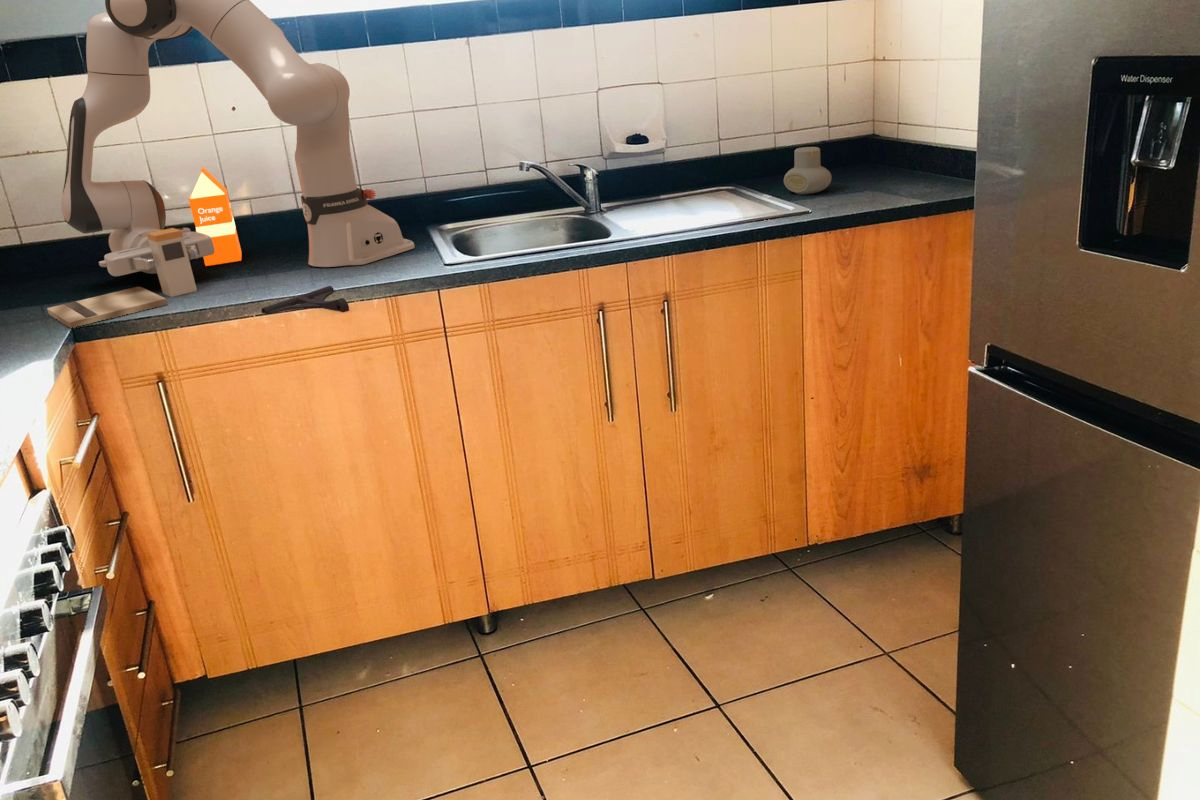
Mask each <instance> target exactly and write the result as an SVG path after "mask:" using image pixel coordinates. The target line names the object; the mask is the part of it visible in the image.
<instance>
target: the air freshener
mask: <svg viewBox="0 0 1200 800" xmlns="http://www.w3.org/2000/svg"><path fill="white" fill-rule="evenodd" d="M793 151H794V155H793V156H794V157H793V158H794V166H793V168H790V169H789V170H788V171H787V172H786V173H785V175H784V178H783V185H784V186H785V187H786V189H787V190H788V191H790V192H792V193H794V194H796V195H803V196H804V195H811V194H817V193H820V192H822V191H824V190H826V188H828V187H829V185H830V184H831V182H832V179H833V177H832V173H831V172H830V170H828V169H827V168H826V167H824V166H822V165H821V148H819V147H818V146H805V147H803V146H802V147H798V148H796V149H795V150H793Z"/></svg>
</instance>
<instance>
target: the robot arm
mask: <svg viewBox="0 0 1200 800" xmlns="http://www.w3.org/2000/svg"><path fill="white" fill-rule="evenodd" d="M104 3H105V5H104V6H105V10H106V11H105V12H104V11H103V12H100V13H97V14H96V15H93V16H92V17H91V18H90V19H89V21H88V23H87V29H86V42H85V43H86V44H85V53H86V56H85V58H86V68H87V82H86V86H85V89H84V92H83V94H82V95H81V97H79V98H77V99H75V100H74V102H73V103H72V108H71V110H70V117H69V124H68V135H67V136H68V137H67V150H66V161H65V162H66V163H65V164H66V165H65V175H64V177H65V178H64V184H63V189H62V196H61V213H62V216H63V219H64V222H66V223H67V224H68V226H70V227H71V228H73V229H74V230H76V231H77V232H80V233H82V234H92V233H99V232H103V231H110V230H111V233H110V234H109V236H108V246H109V248H110V251H111V252H109V253H106V254H104V256H103V257H104V258H103V259H104V260H100V261H98V265H99V266H100V267H101V268H107V269H106V270H107V272H108V273H109V275H111V276H113V277H122V276H125V275H129V274H130V275H131V274H133V273H137V272H143V273H145V274H151V275H154V274H157V270H156V266H155V263H154V259H153V255H152V252H151V248H150V245H149V241H148V237H147V234H146V233H150V232H155V231H160V230H165V227H166V221H167V220H166V219H167V218H166V217H167V215H166V214H167V213H166V207H165V203H164V199H163V197H162V195H161V194H160V192H159V191H158V190H157V189H156V188H155V187H154V186H153V185H152V184H151V183H149V182H148V181H147V180H120V181H100V182H99V181H98V182H97V181H96V182H95V181H92V172H93V171H92V168H93V156H94V145H95V141H96V139H97V138H98V136H99V135H100V134H102V133H103V132H104V131H106V130H108V129H109V128H112V127H113V126H116V125H119V124H122V123H124V122H127V121H130V120H132V119H134V118H135V117H137V116H138V115H140V114H142V112H143V111H144V110H145V109H146V107H147V106H148V104H149V103H150V100H151V76H150V66H149V51H150V47H151V45H152V44H153V43H154V42H157V43H161V42H166V41H169V40H173V39H178V38H181V37H184V36H186V35H188V34H189V33H191V32H192V31H193V29H195V30H196V31H198V32H199V33H201V34H202V36H204V37H205V38H206V39H207V40H208V41H209V42H210V43H211V44H212V45H213V46H215V48H217V50H219V51H220V52H221V53H222V54H223V55H225V56H226V57H227V58H228V59H229V60H230V61H232V63H234V64H235V66H236V67H238V68H239V69H240V70H241V71H242V72H243V73H244V74H245V75H246V76H247V77H248V79H249V80H250V81H251V82H252V83H253V85H254V87H256V88H257V91H259V93H260V94H261V95H262V96H263V98H264V99H265V100H266V101H267V104H268V106H269V109H270V111H271V112H272V114H273V115H274V116H275V117H276V118H277V119H279V120H280V121H281V122H283V123H286V124H288V125H291V126H295V127H296V146H295V147H296V148H295V152H294V160H295V161H294V162H295V167H296V171H297V176H298V181H299V185H300V190H301V196H300V200H301V207H302V208H301V209H302V212H303V213H302V214H303V217H304V220H305V223H306V225H307V233H308V262H307V263H308V265H309V266H312V267H319V268H331V267H332V268H333V267H334V268H335V267H343V266H344V267H345V266H361V265H367V264H369V263H373V262H376V261H379V260H381V259H386V258H388V257H392V256H394V255H395V256H396V255H397V254H401V253H404V252H407V251H410V250H413V249H415V242H413V240H410V239H407V238H404V237H403V235H402V234H403V233H402V231H401V229H400V226H399V224H398V222H397V221H396V219H394V218H393V217H391V216H389V215H388V214H386V213H384V212H382V211H381V210H379V209H377V208H375V207H374V206H371V205H370V204H368V200H373V199H375V198H376V194H377V193H376V191H375V190H374V189H369V188H366V189H365V190H364V189H362V188H359V187H357V181H356V175H355V170H354V166H353V164H354V163H353V160H352V153H351V146H350V144H351V143H350V142H351V140H350V111H349V100H350V95H351V94H350V84H349V83H348V81H347V78H346V77H345V75H343V73H341V72H340V71H339V70H338V69H336V68H334V67H332V66H330V65H329V64H325V63H321V62H320V63H319V62H315V63H308V62H307V61H305V60H304V58H302V57H301V56H300V55H299V54H298V52H297V51H296V50H295V49H294V47H293V46H292V44H291V42H289V40H288V39H287V38H286V36H285V33H284V31H283V30H282V29H281V28H280V27H279V26H278V25H277V24H276V23H275V22H274V21H273V20H272V19H270V18H269V17H268V16H267V15H266V14H265V13H264V12H263V11H262V10H261V9H259V8H258V7H257V5H255V4H254V3H253V1H251V0H104ZM176 229H178V230H181V231H182V235H183V239H184V242H185V246H186V250H187V254H188V258H189V261H191V260H196V259H199V258H203V257H204V256H209V255H212V254H214V252H215V250H214V245H213V242H212V239H211V237H210V236H208V235H205V234H203V233H199V232H197V231H191V228H189V227H178V228H176Z"/></svg>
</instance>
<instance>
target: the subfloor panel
mask: <svg viewBox="0 0 1200 800" xmlns="http://www.w3.org/2000/svg"><path fill="white" fill-rule="evenodd" d="M164 305H165V306H168V299H167V298H165V297H164V296H162V295H160V294H157V293H155V292H153V291H151V290H148V289H146V288H144V287H141V286H135V287H131V288H127V289H122V290H119V291H113V292H109V293H106V294H101V295H97V296H93V297H88V298H84V299H80V300H75V301H72V302H67V303H62V304H59V305H54V306H50V307H46V310H47V313H48V315H49V316H50V317H52V318H53V319H55V320H56V319H57V321H58V322H59V321H60V323H61V322H62V323H64V324H65V325H67V326H69V327H73V329H77V328H78V327H77V326H81V327H83V326H82V325H85V324H89V323H93V322H97V321H101V320H105V319H109V318H112V317H117V318H119V317H118V316H121V317H123V316H122V315H125V316H127V315H126V314H129V315H131V314H130V313H133V314H135V313H134V312H137V313H139V312H138V311H141V312H143V310H145V311H148V310H147V309H149V310H152V308H153V309H156V308H155V307H157V308H160V307H159V306H161V307H164ZM109 320H110V319H109ZM105 321H106V320H105ZM101 322H102V321H101ZM62 323H61V324H62ZM97 323H98V322H97ZM64 324H63V325H64ZM93 324H94V323H93ZM65 325H64V326H65ZM89 325H90V324H89ZM67 326H66V327H67ZM85 326H86V325H85ZM76 327H77V328H76Z"/></svg>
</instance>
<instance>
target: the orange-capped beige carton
mask: <svg viewBox="0 0 1200 800" xmlns="http://www.w3.org/2000/svg"><path fill="white" fill-rule="evenodd" d="M146 234H147V237H148V241H149V245H150V248H151V252H152V255H153V259H154V263H155V266H156V270H157V273H156V274H157V277H158V281H159V285H160V287H161V292H162V294H163V295H166V296H168V297H170V298H173V297H177V296H181V295H185V294H190V293H193V292H197V291H198V290H197V289H198V288H197V285H196V282H195V281H196V280H195V277H194V274H193V270H192V266H191V262H190V260H189V258H188V254H187V250H186V246H185V242H184V239H183V235H182V231H181V230H178V229H177V228H174V227H171V228H166V229H165V228H164V229H163V230H160V231H155V232H150V233H146Z"/></svg>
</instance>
